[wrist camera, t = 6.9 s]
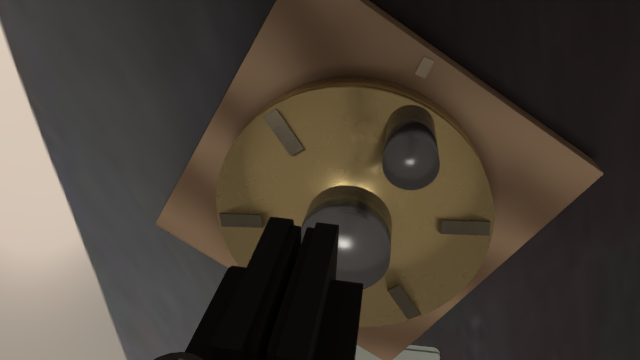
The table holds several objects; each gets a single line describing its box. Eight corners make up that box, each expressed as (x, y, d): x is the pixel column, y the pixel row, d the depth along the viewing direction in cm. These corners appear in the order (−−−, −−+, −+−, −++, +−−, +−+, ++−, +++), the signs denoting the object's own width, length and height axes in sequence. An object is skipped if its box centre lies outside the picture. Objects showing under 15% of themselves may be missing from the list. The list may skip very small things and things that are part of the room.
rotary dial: (524, 101, 24) (561, 153, 18) (451, 323, 32) (461, 410, 26) (229, 57, 26) (177, 92, 20) (227, 279, 34) (188, 352, 28)
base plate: (306, -44, 25) (298, -43, 23) (591, 158, 27) (605, 175, 26) (168, 209, 34) (153, 225, 32) (389, 343, 37) (388, 365, 35)
